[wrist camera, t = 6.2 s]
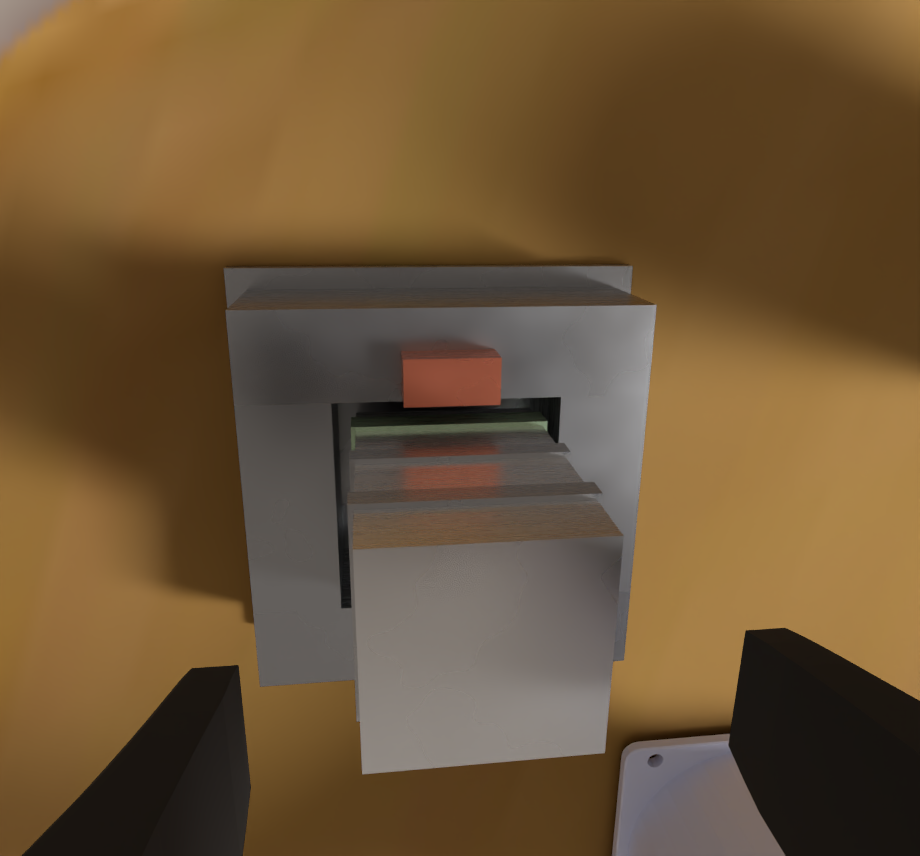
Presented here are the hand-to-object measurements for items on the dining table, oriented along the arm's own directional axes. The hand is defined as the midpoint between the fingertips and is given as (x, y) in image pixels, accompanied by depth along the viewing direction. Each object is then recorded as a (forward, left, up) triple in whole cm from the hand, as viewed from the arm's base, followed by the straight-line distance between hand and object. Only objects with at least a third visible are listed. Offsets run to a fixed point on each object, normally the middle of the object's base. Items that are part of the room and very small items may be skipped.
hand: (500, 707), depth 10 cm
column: (0, 0, -8) cm, 8 cm away
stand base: (0, 0, -10) cm, 10 cm away
